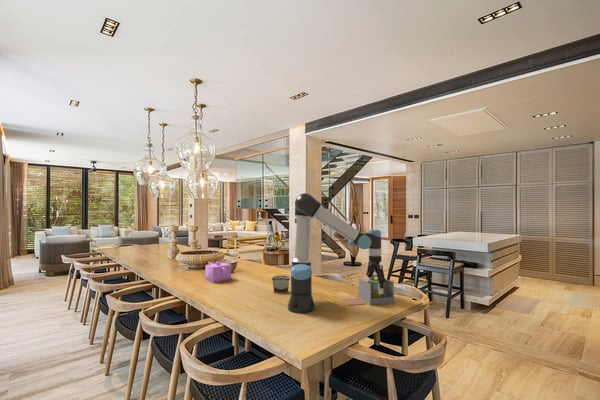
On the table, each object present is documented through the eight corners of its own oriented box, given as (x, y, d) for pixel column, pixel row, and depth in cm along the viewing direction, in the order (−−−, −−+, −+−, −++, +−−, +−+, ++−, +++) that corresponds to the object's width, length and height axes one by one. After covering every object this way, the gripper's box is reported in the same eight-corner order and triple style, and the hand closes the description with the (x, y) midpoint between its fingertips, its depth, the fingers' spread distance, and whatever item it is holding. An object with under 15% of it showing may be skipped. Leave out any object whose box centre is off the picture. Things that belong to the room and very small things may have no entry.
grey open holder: (370, 305, 171) (370, 284, 171) (358, 297, 186) (358, 277, 187) (394, 303, 174) (393, 282, 175) (380, 295, 190) (380, 276, 190)
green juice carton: (366, 301, 178) (365, 276, 179) (370, 296, 187) (369, 273, 187) (381, 303, 174) (381, 277, 174) (385, 298, 182) (384, 274, 183)
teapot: (218, 275, 250) (218, 258, 250) (234, 280, 231) (234, 262, 231) (201, 278, 239) (201, 260, 240) (216, 284, 221) (216, 265, 221)
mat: (348, 305, 170) (348, 305, 170) (341, 299, 181) (341, 299, 181) (366, 304, 173) (366, 303, 173) (358, 298, 184) (358, 297, 184)
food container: (291, 290, 203) (291, 275, 203) (290, 292, 197) (290, 277, 197) (273, 289, 204) (273, 275, 204) (271, 292, 198) (271, 277, 198)
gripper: (391, 258, 170) (391, 296, 170) (371, 251, 194) (371, 285, 193) (379, 258, 168) (379, 297, 168) (360, 252, 192) (361, 285, 192)
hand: (375, 290), depth 181 cm, fingers closed on green juice carton, 12 cm apart
